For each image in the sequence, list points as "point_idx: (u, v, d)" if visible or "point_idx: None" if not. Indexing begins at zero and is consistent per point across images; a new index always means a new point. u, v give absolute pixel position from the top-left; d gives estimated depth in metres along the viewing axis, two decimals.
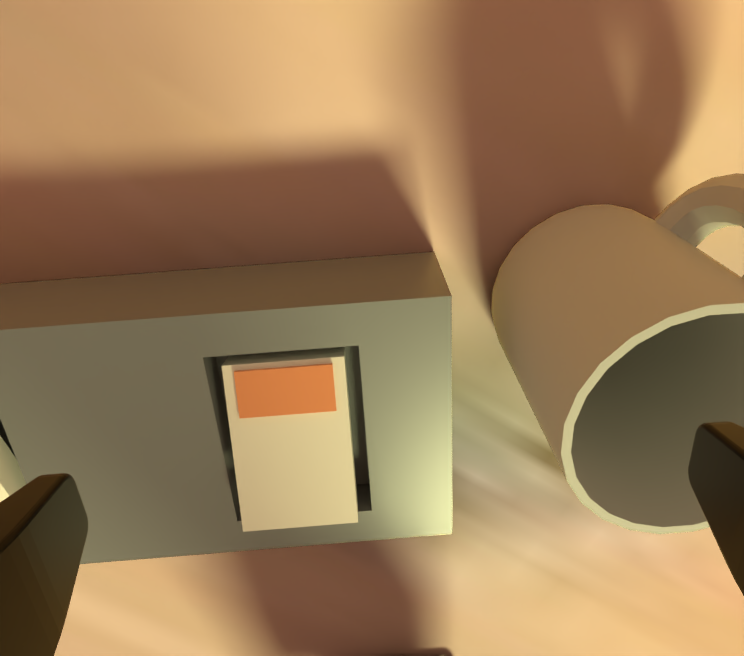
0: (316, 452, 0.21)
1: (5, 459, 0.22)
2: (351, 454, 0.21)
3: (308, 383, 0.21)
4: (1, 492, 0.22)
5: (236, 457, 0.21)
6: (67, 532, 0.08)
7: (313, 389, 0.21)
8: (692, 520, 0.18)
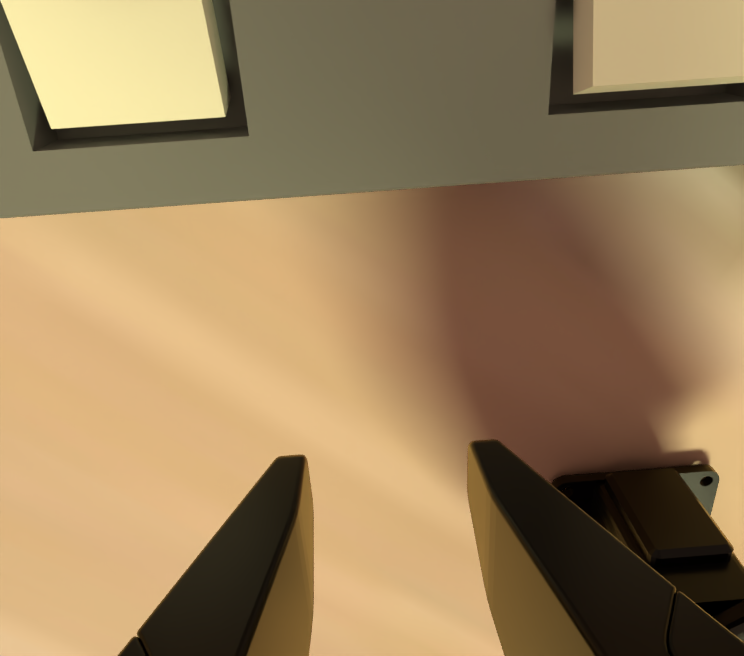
0: None
1: None
2: None
3: None
4: (196, 17, 0.13)
5: None
6: (309, 513, 0.09)
7: None
8: None
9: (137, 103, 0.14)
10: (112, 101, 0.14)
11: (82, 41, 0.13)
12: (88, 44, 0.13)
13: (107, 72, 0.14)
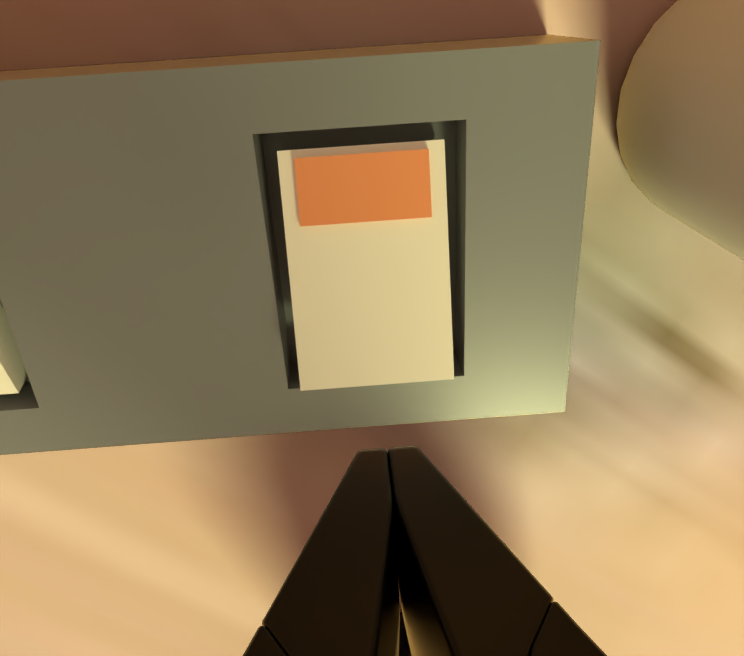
0: (401, 278, 0.16)
1: None
2: (449, 282, 0.16)
3: (393, 177, 0.15)
4: None
5: (294, 284, 0.16)
6: None
7: (402, 185, 0.15)
8: None
9: None
10: None
11: None
12: None
13: None
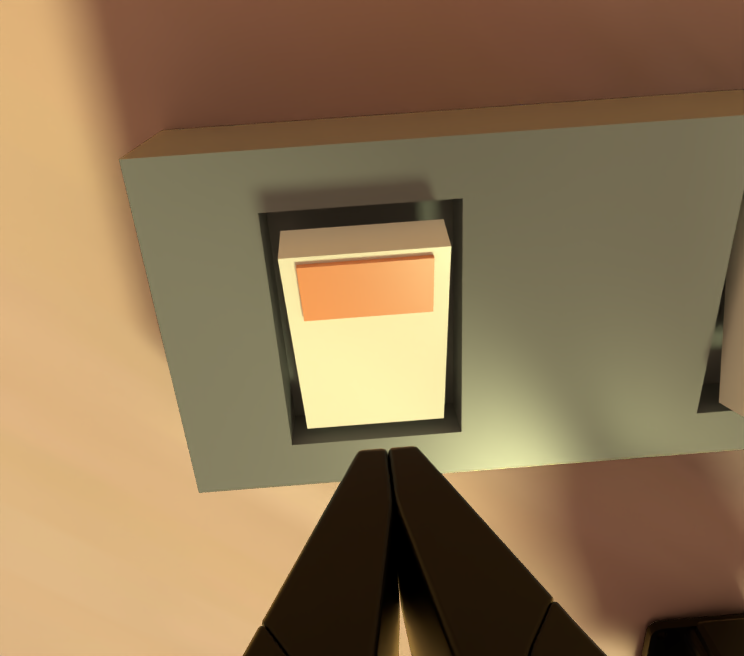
0: None
1: None
2: None
3: None
4: (439, 366, 0.17)
5: None
6: None
7: None
8: None
9: (378, 412, 0.18)
10: (360, 412, 0.18)
11: (348, 381, 0.17)
12: (352, 383, 0.17)
13: (362, 397, 0.18)
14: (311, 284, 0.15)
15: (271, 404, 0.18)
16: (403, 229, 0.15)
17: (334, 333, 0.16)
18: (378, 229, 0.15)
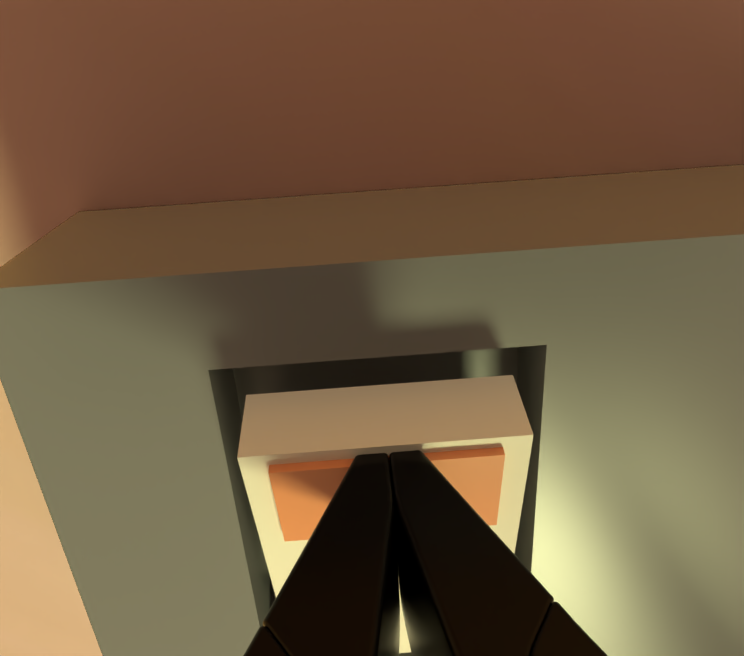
0: None
1: None
2: None
3: None
4: None
5: None
6: None
7: None
8: None
9: (401, 641, 0.12)
10: None
11: None
12: None
13: None
14: (295, 494, 0.09)
15: (238, 631, 0.12)
16: (448, 395, 0.09)
17: None
18: (407, 394, 0.09)
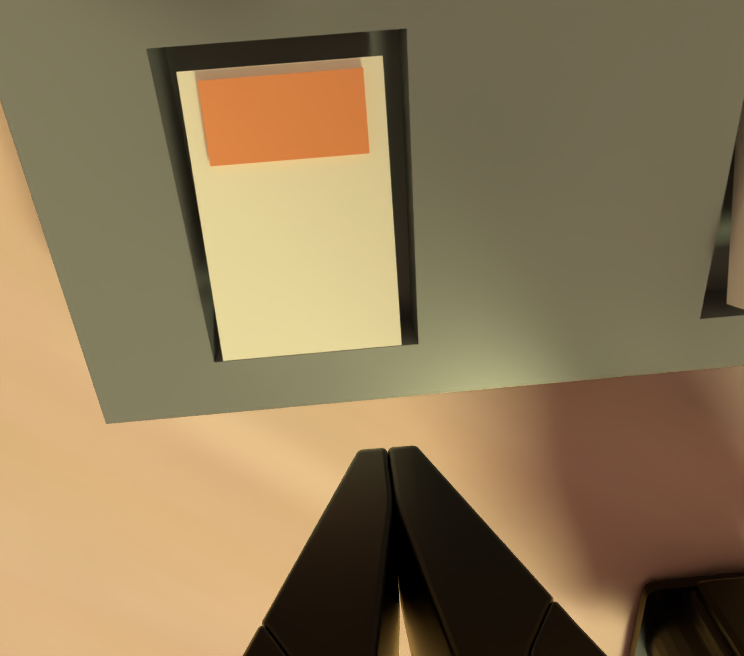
0: None
1: None
2: None
3: None
4: (387, 251, 0.13)
5: None
6: None
7: None
8: None
9: (315, 333, 0.14)
10: (290, 332, 0.14)
11: (273, 275, 0.13)
12: (277, 279, 0.13)
13: (291, 304, 0.14)
14: (216, 106, 0.12)
15: (184, 309, 0.15)
16: None
17: (250, 192, 0.13)
18: None
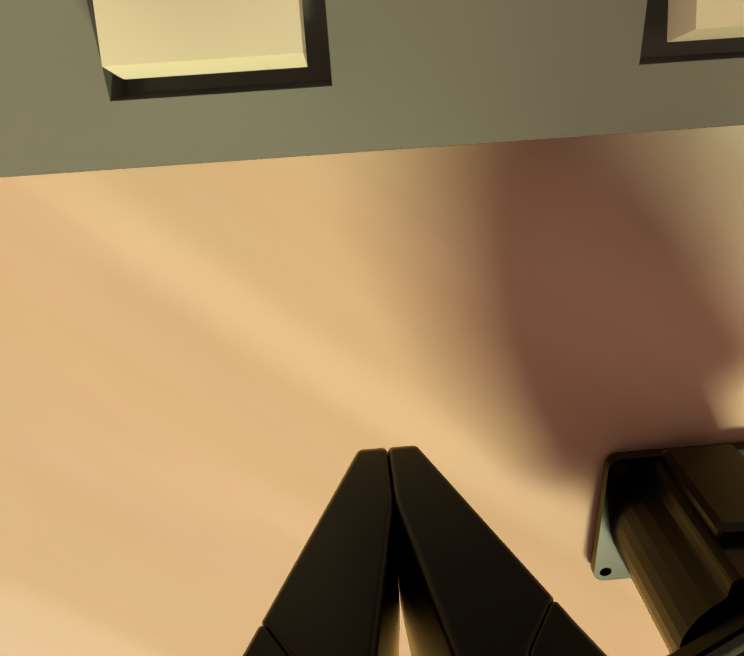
0: None
1: None
2: None
3: None
4: None
5: None
6: None
7: None
8: None
9: (205, 35, 0.12)
10: (178, 32, 0.12)
11: None
12: None
13: None
14: None
15: (74, 30, 0.13)
16: None
17: None
18: None
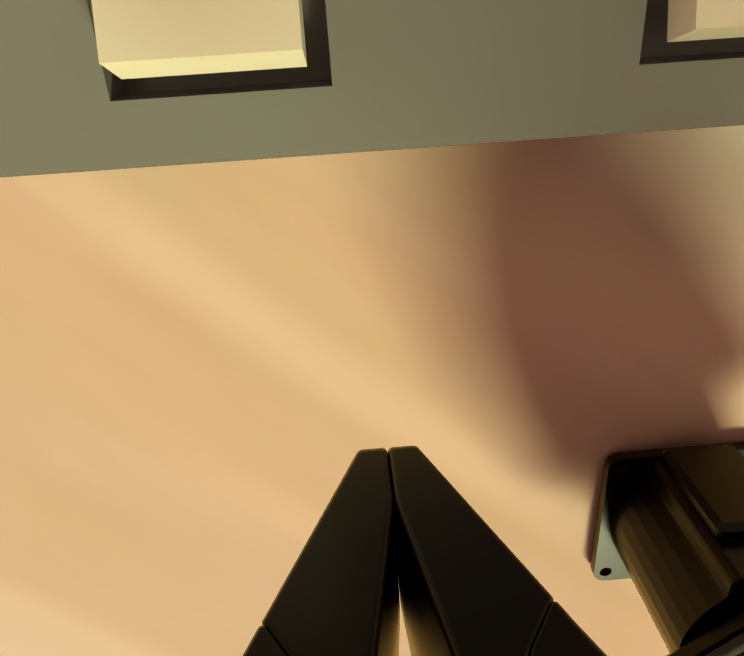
0: None
1: None
2: None
3: None
4: None
5: None
6: None
7: None
8: None
9: (203, 32, 0.12)
10: (176, 29, 0.12)
11: None
12: None
13: None
14: None
15: (74, 30, 0.13)
16: None
17: None
18: None
